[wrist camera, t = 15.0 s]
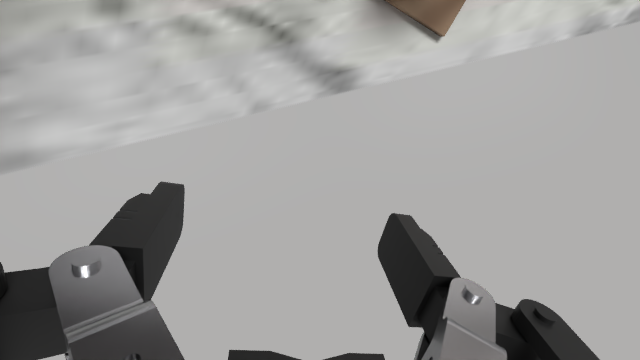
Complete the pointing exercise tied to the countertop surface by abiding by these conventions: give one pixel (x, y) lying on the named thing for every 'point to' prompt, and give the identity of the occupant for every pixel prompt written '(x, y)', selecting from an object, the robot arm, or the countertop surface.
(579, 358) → the robot arm
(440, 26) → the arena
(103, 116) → the countertop surface
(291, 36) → the countertop surface
